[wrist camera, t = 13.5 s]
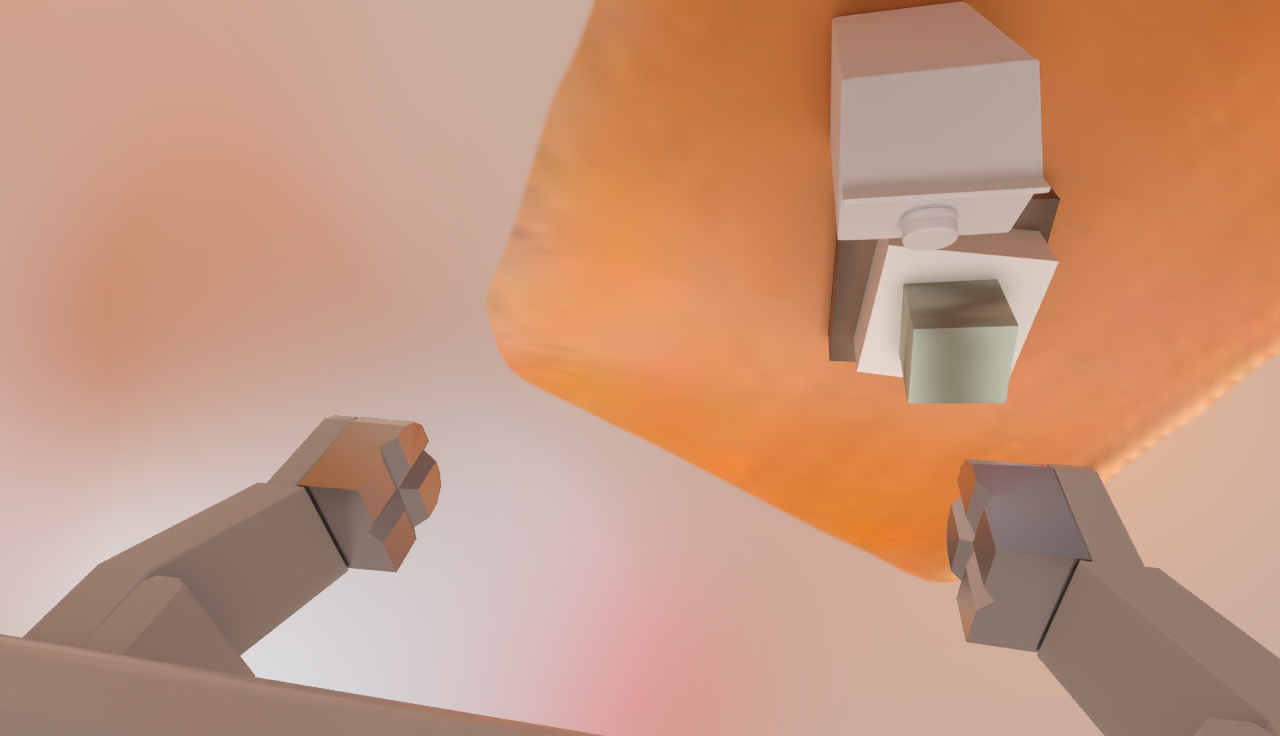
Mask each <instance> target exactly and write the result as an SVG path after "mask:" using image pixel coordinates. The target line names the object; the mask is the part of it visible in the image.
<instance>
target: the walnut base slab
mask: <svg viewBox="0 0 1280 736" xmlns="http://www.w3.org/2000/svg"><path fill="white" fill-rule="evenodd" d="M1059 200H1060V198H1059V197H1058V196H1057V195H1056V193H1055V192H1054V191H1053V190H1052V188H1051V189H1050V191H1049V192H1047V193H1038V194H1034V195H1033V196H1032V198H1031V199H1030V201H1029V202H1028V204H1027V205H1026V207H1025V208H1024V210H1023V212H1022V213H1021V215H1020V216H1019V218H1018V219H1017V221H1016V222H1015V224H1014V225H1013V227H1012V229H1023V230H1034V231H1040V233H1041V234H1042V236H1043V238H1044V239H1045V241H1046V242H1047V243H1048V239H1049V236H1050V232H1051V228H1052V225H1053V221H1054V218H1055V214H1056V211H1057V207H1058V204H1059ZM877 240H878V239H870V240H838V238H837V239H836V251H835V263H834V274H833V286H832V298H831V310H830V322H829V333H828V336H829V359H830V361H850V362H856V357H855V345H854V335H855V331H856V327H857V323H858V319H859V315H860V310H861V306H862V302H863V298H864V294H865V290H866V286H867V281H868V277H869V273H870V269H871V265H872V261H873V256H874V252H875V248H876V244H877Z"/></svg>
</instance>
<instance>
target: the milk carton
mask: <svg viewBox="0 0 1280 736" xmlns="http://www.w3.org/2000/svg"><path fill="white" fill-rule="evenodd" d="M830 147H831V160H832V173H833V186H834V199H835V212H836V225H837V238H838V240H870V239H890V238H902V243H903V245H904V246H905V247H906V248H908V249H911V250H920V251H925V250H936V249H941V248H944V247H947V246H949V245H951V244H953V243H954V242H955V241H956V240H957V238H958V235H977V234H993V233H1006V232H1009V231H1010V230H1011V228H1012V227H1013V225H1014V224H1015V222H1016V221H1017V219H1018V218H1019V216H1020V215H1021V213H1022V212H1023V210H1024V208H1025V207H1026V205H1027V204H1028V202H1029V201H1030V199H1031V198H1032V196H1033V195H1034V194H1038V193H1047V192H1049V191H1050V189H1051V187H1050V185H1049V184H1048V183H1047V181H1046V180H1045V179H1044V178H1043V156H1042V125H1041V94H1040V64H1039V60H1037V59H1035V58H1034V57H1033V56H1032V55H1031V54H1029V53H1028V52H1027V51H1026V50H1024V49H1023V48H1022V47H1021V46H1019V45H1018V44H1017V43H1016V42H1014V41H1013V40H1012V39H1011V38H1010V37H1008V36H1007V35H1006V34H1005V33H1003V32H1002V31H1001V30H1000V29H998V28H997V27H996V26H995V25H993V24H992V23H991V22H990V21H989V20H987V19H986V18H985V17H984V16H982V15H981V14H980V13H979V12H977V11H976V10H975V9H974V8H972V7H971V6H970V5H969V4H968V3H966V2H962V1H961V2H951V3H943V4H935V5H927V6H919V7H911V8H903V9H895V10H887V11H879V12H871V13H863V14H855V15H847V16H840V17H835V18H833V19H832V47H831V110H830Z"/></svg>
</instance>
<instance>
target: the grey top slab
mask: <svg viewBox="0 0 1280 736" xmlns="http://www.w3.org/2000/svg"><path fill="white" fill-rule="evenodd" d="M1058 262H1059V261H1058V259H1057V258H1056V256H1055V255H1054V253H1053V252H1052V250H1051V248H1050V247H1049V245H1048V244H1047V242H1046V241H1045V239H1044V238H1043V236H1042V234H1041V233H1040V231H1034V230H1023V229H1012V228H1011V230H1010V231H1009V232H1006V233H993V234H977V235H958V238H957V240H956V241H955V242H954V243H953V244H951V245H949V246H947V247H944V248H941V249H936V250H925V251H920V250H911V249H908V248H906V247H905V246H904V245H903V243H902V238H890V239H878V240H877V244H876V248H875V252H874V256H873V261H872V265H871V269H870V273H869V277H868V281H867V286H866V290H865V294H864V298H863V302H862V306H861V310H860V315H859V319H858V323H857V327H856V331H855V335H854V345H855V357H856V368H857V372H865V373H873V374H881V375H889V376H897V377H903V372H902V367H901V361H900V356H899V349H900V332H901V316H902V299H903V284H909V283H931V282H952V281H973V280H994V279H997V280H998V282H999V284H1000V286H1001V288H1002V291H1003V293H1004V295H1005V297H1006V299H1007V301H1008V304H1009V306H1010V308H1011V310H1012V312H1013V314H1014V317H1015V319H1016V321H1017V323H1018V325H1019V328H1018V333H1017V339H1016V345H1015V350H1014V356H1013V362H1012V367H1011V373H1012V370H1013V368H1014V366H1015V363H1016V361H1017V359H1018V356H1019V354H1020V352H1021V349H1022V347H1023V345H1024V342H1025V340H1026V337H1027V335H1028V333H1029V330H1030V328H1031V326H1032V323H1033V321H1034V319H1035V316H1036V314H1037V312H1038V309H1039V307H1040V305H1041V302H1042V300H1043V298H1044V295H1045V293H1046V290H1047V288H1048V286H1049V283H1050V281H1051V279H1052V276H1053V274H1054V272H1055V269H1056V267H1057V265H1058ZM1011 373H1010V375H1011Z"/></svg>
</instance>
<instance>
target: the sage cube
mask: <svg viewBox="0 0 1280 736" xmlns="http://www.w3.org/2000/svg"><path fill="white" fill-rule="evenodd" d="M1018 328H1019V325H1018V323H1017V321H1016V319H1015V317H1014V314H1013V312H1012V310H1011V308H1010V306H1009V304H1008V301H1007V299H1006V297H1005V295H1004V293H1003V291H1002V288H1001V286H1000V284H999V282H998V280H997V279H994V280H973V281H952V282H931V283H909V284H903V299H902V316H901V332H900V349H899V356H900V361H901V367H902V372H903V378H904V383H905V389H906V394H907V400H908V403H1005V401H1006V396H1007V390H1008V384H1009V379H1010V373H1011V367H1012V362H1013V356H1014V350H1015V345H1016V339H1017V333H1018Z"/></svg>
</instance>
